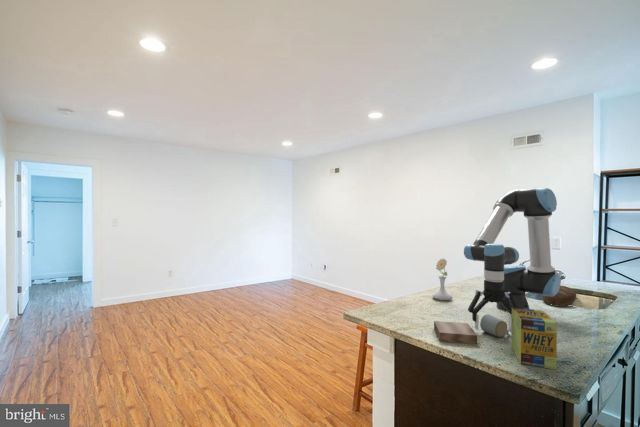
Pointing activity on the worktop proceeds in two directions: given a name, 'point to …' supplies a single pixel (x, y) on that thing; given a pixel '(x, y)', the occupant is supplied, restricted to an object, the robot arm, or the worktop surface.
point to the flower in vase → (442, 283)
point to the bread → (561, 297)
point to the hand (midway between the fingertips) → (493, 330)
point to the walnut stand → (455, 332)
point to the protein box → (534, 337)
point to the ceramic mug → (494, 325)
